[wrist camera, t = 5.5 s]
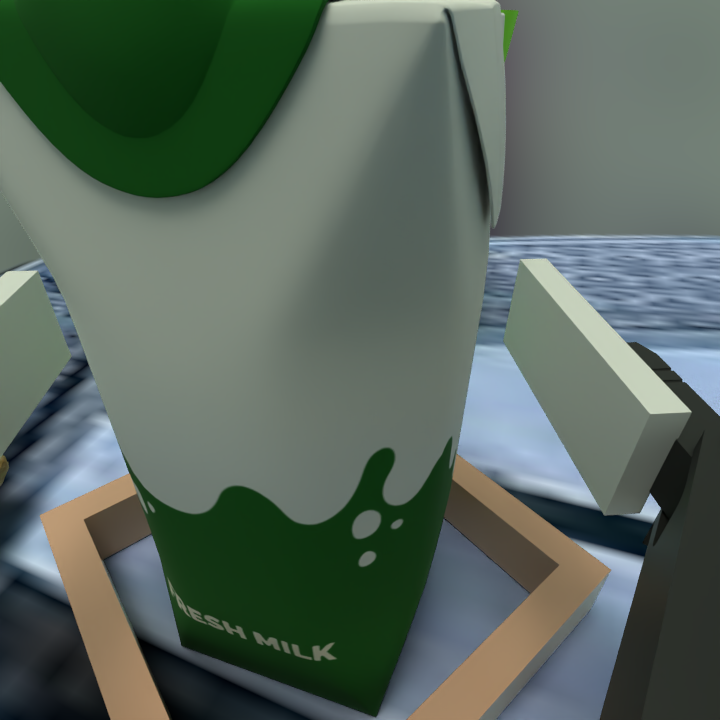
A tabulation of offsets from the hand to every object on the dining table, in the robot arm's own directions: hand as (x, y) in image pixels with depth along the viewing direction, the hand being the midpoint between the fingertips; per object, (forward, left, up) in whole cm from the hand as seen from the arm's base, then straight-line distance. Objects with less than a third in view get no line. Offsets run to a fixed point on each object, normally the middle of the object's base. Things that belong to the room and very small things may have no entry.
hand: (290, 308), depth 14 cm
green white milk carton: (+1, +2, -11) cm, 11 cm away
